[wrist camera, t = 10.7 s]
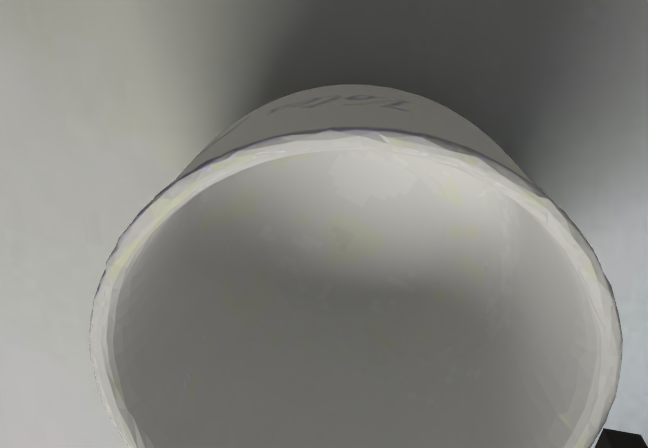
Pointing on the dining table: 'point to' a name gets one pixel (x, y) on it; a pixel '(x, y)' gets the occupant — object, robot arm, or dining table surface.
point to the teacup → (355, 291)
